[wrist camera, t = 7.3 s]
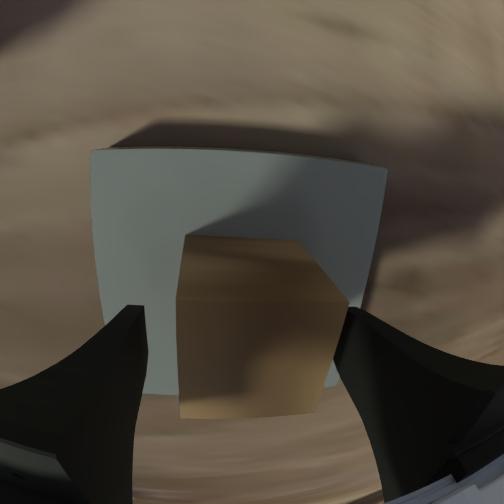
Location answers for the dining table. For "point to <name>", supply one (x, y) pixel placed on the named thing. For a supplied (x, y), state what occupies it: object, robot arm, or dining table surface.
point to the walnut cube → (253, 328)
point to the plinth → (221, 224)
